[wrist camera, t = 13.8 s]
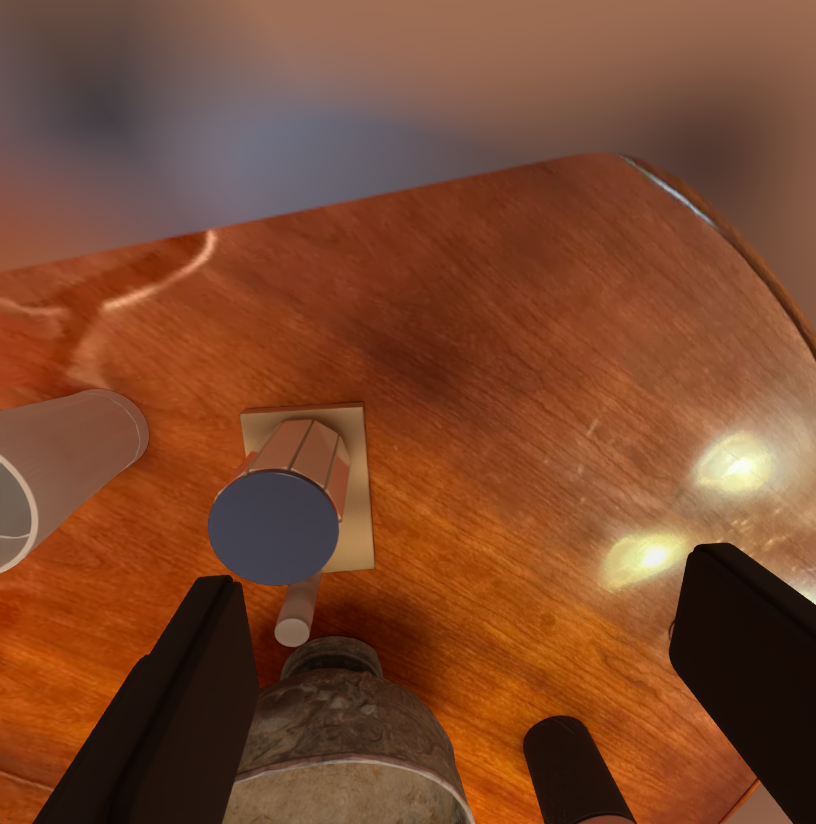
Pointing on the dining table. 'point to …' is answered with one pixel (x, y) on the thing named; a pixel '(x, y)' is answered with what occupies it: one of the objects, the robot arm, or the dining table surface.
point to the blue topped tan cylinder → (283, 505)
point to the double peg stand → (357, 516)
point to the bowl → (344, 747)
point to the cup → (60, 462)
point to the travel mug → (572, 775)
